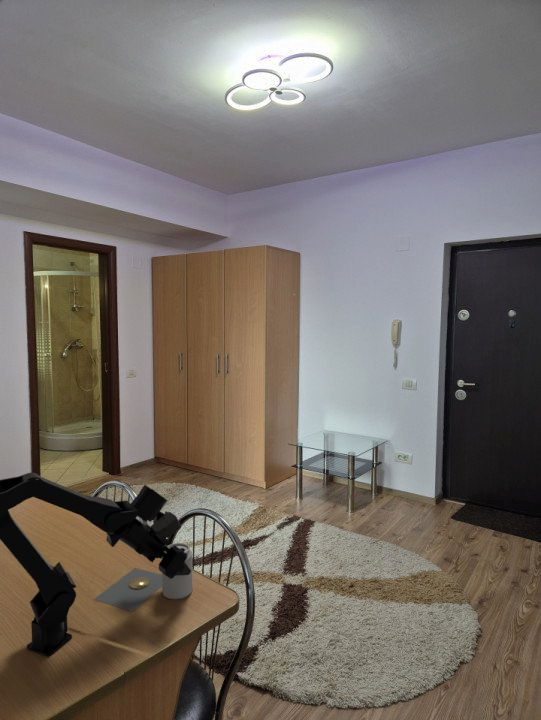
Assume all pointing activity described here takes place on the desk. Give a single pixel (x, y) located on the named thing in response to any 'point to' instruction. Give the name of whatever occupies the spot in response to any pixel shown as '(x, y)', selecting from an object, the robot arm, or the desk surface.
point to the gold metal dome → (139, 583)
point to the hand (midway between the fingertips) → (180, 565)
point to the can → (179, 578)
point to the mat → (130, 590)
